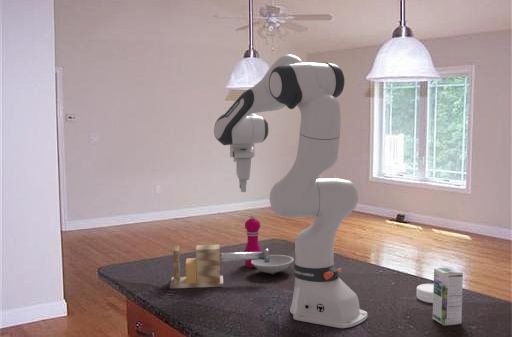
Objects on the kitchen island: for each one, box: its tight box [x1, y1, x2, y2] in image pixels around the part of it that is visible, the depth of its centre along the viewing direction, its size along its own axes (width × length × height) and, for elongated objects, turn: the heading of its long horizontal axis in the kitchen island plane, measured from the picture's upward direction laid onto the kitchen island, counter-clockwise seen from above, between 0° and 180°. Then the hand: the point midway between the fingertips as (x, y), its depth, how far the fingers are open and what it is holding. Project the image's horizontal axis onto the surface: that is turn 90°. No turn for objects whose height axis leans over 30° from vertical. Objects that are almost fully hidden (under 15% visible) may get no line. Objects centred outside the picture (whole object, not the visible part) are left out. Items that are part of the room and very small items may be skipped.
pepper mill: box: [243, 214, 263, 268], centre depth 209 cm, size 7×7×20 cm
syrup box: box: [432, 266, 464, 327], centre depth 148 cm, size 6×6×14 cm
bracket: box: [169, 244, 224, 289], centre depth 187 cm, size 18×10×13 cm, turn 94°
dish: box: [251, 254, 295, 275], centre depth 198 cm, size 18×14×5 cm
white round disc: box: [415, 283, 434, 304], centre depth 168 cm, size 10×10×4 cm
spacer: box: [185, 257, 197, 284], centre depth 187 cm, size 4×7×7 cm, turn 4°
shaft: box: [220, 248, 270, 263], centre depth 188 cm, size 25×5×5 cm, turn 94°
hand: (242, 190), depth 195 cm, fingers open, 8 cm apart
